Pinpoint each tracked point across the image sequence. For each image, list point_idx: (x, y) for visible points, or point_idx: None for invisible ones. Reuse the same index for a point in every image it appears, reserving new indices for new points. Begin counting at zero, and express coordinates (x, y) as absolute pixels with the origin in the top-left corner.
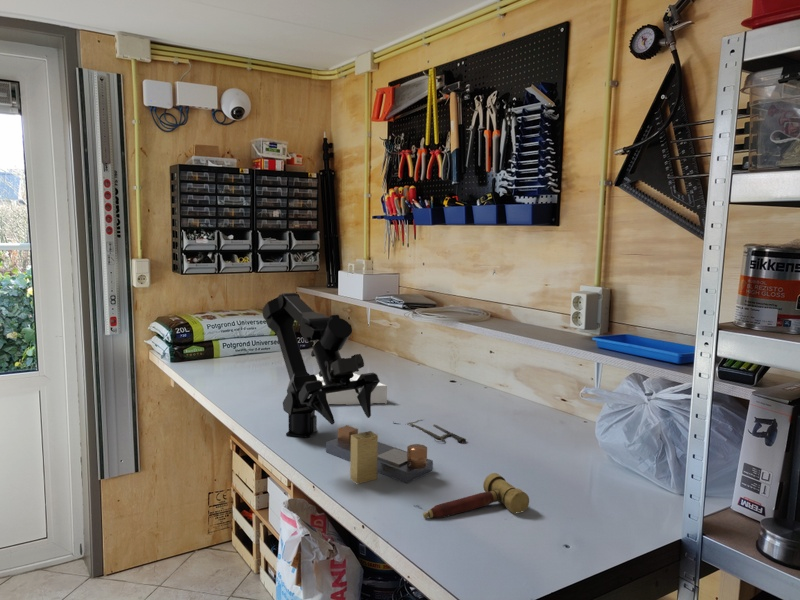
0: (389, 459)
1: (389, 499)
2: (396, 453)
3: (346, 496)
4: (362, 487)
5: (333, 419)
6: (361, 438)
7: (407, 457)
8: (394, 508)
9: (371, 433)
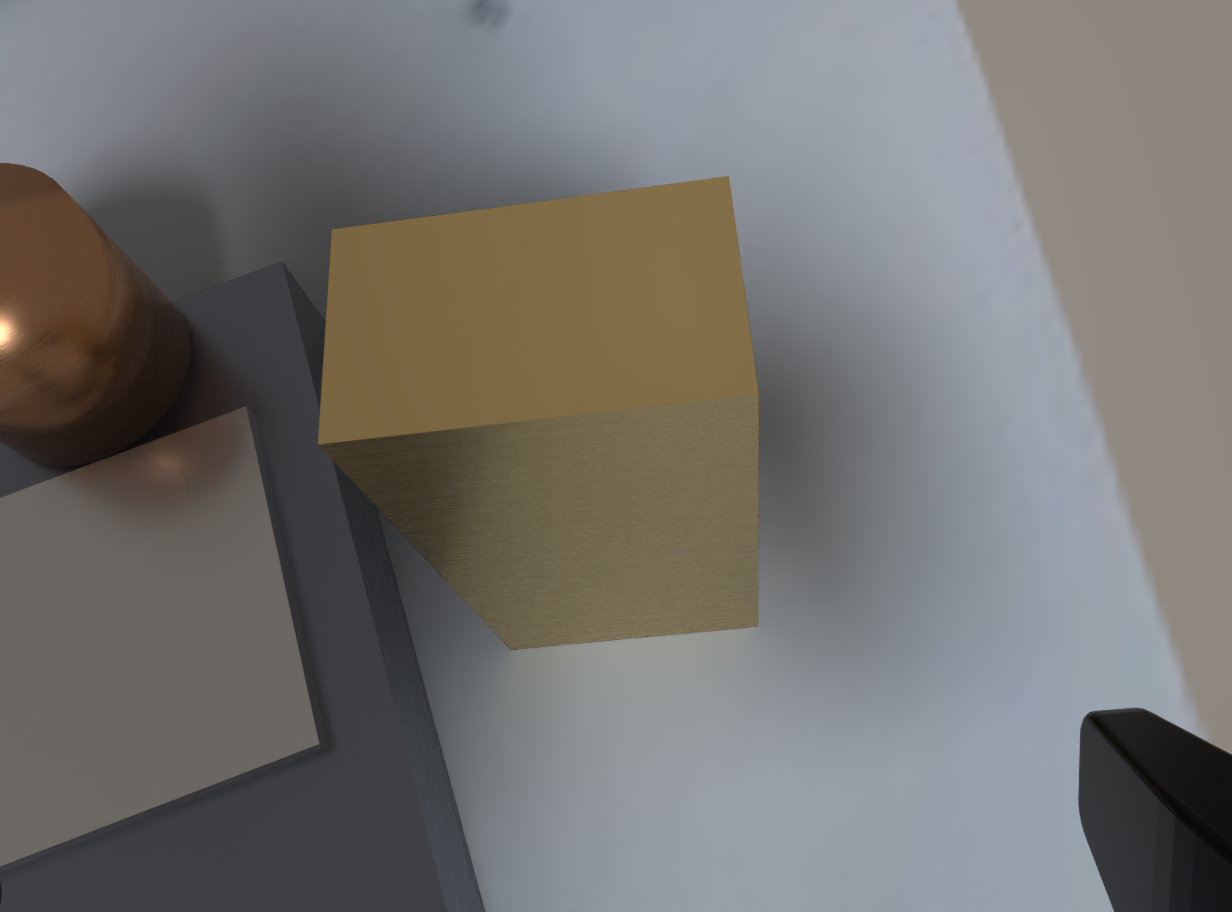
0: (246, 569)
1: (612, 140)
2: (60, 704)
3: (932, 297)
4: None
5: (1142, 736)
6: (649, 188)
7: (128, 344)
8: (649, 24)
9: (377, 327)
